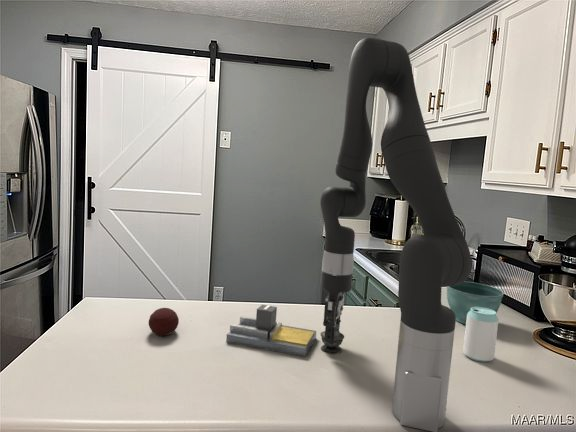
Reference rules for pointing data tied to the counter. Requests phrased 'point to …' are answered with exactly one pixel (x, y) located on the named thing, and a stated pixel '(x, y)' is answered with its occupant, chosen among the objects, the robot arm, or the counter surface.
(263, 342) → the board
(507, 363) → the counter surface
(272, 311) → the block
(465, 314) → the teal bowl
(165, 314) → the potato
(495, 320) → the can
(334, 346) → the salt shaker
